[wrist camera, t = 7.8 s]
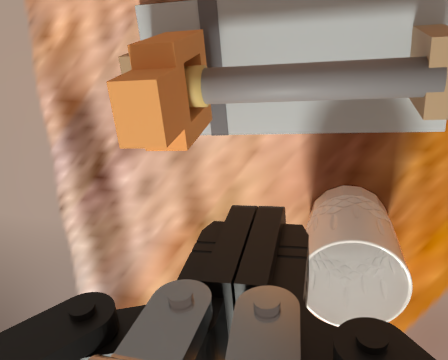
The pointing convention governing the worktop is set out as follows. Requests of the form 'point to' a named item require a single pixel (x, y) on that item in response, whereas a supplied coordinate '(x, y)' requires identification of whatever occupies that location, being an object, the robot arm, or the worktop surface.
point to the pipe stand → (313, 63)
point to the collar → (159, 94)
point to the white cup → (354, 259)
